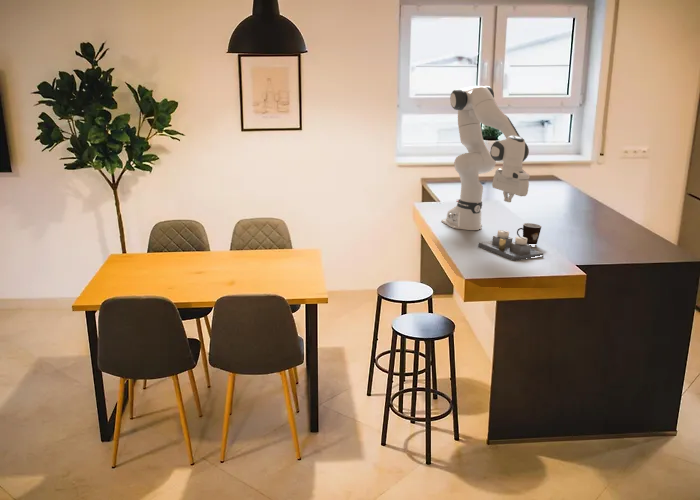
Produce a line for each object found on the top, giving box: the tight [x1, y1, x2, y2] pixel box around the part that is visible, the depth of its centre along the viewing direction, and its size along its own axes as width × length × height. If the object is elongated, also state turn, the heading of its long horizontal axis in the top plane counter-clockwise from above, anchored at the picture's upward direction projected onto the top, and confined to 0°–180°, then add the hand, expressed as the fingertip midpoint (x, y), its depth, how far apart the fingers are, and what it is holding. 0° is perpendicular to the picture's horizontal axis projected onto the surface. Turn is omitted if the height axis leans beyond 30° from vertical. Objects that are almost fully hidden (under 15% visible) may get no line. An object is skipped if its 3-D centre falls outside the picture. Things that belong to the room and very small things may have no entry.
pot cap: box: [499, 238, 506, 250], centre depth 331 cm, size 3×3×5 cm
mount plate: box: [477, 235, 544, 262], centre depth 334 cm, size 24×18×6 cm
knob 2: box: [514, 236, 527, 245], centre depth 328 cm, size 5×5×6 cm
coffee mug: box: [516, 222, 542, 245], centre depth 348 cm, size 12×9×10 cm
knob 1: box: [496, 229, 510, 238], centre depth 338 cm, size 5×5×6 cm
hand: (507, 201), depth 334 cm, fingers closed
